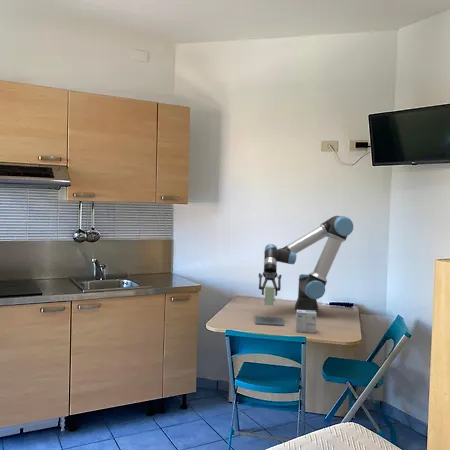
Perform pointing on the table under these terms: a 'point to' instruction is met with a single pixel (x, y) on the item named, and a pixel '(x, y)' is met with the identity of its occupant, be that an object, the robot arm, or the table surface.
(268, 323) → the mat
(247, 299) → the table surface
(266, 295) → the sage block
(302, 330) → the light bulb box
